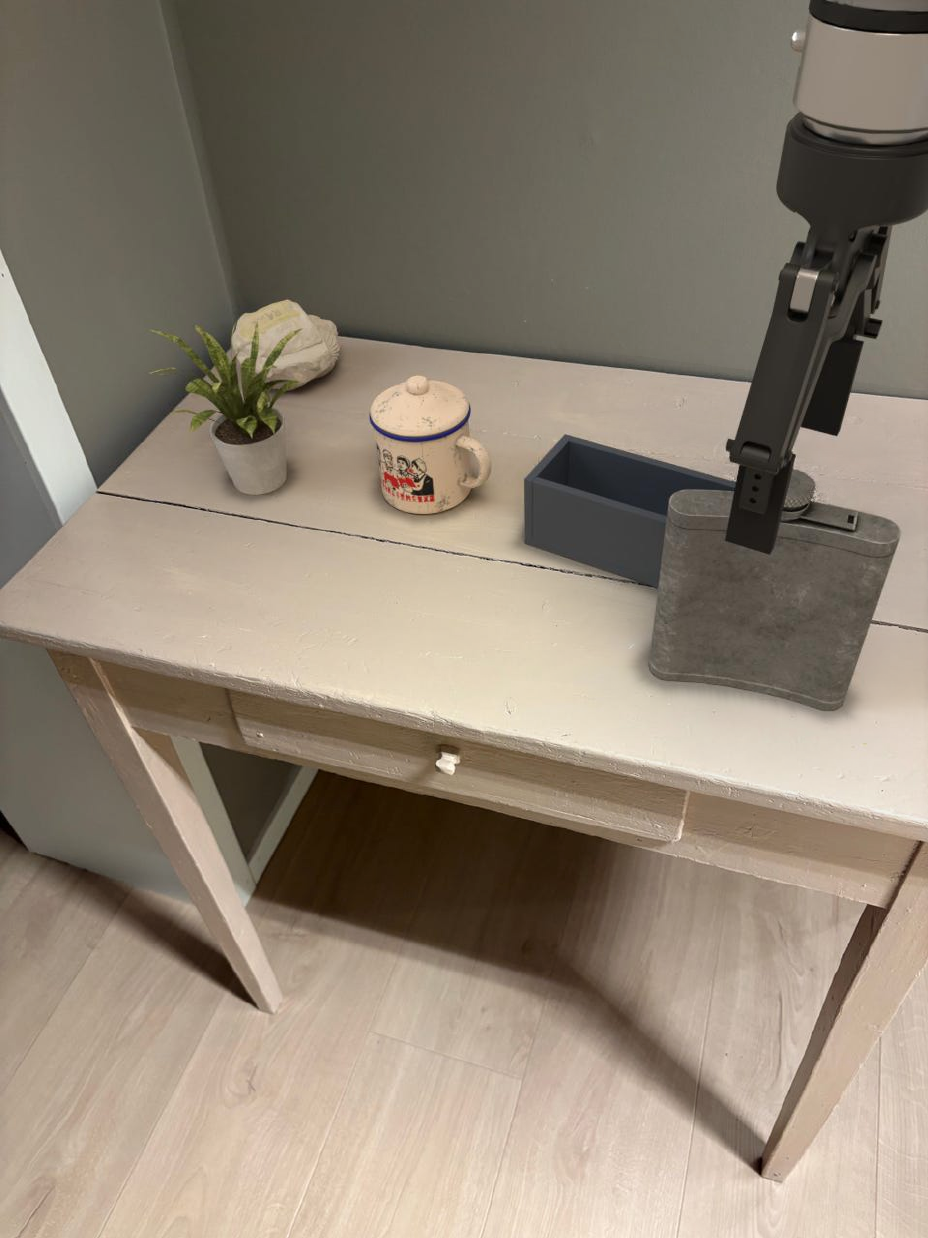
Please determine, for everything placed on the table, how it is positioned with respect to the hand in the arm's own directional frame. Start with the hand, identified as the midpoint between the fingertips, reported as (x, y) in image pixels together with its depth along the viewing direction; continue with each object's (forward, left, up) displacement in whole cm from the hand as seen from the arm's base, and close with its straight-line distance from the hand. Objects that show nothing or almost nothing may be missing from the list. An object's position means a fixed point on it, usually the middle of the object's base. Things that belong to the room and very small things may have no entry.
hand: (785, 482), depth 60 cm
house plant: (+51, -2, -18) cm, 54 cm away
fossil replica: (+59, -20, -18) cm, 65 cm away
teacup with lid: (+33, -9, -18) cm, 39 cm away
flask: (0, 0, -18) cm, 18 cm away
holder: (+13, -10, -18) cm, 24 cm away
